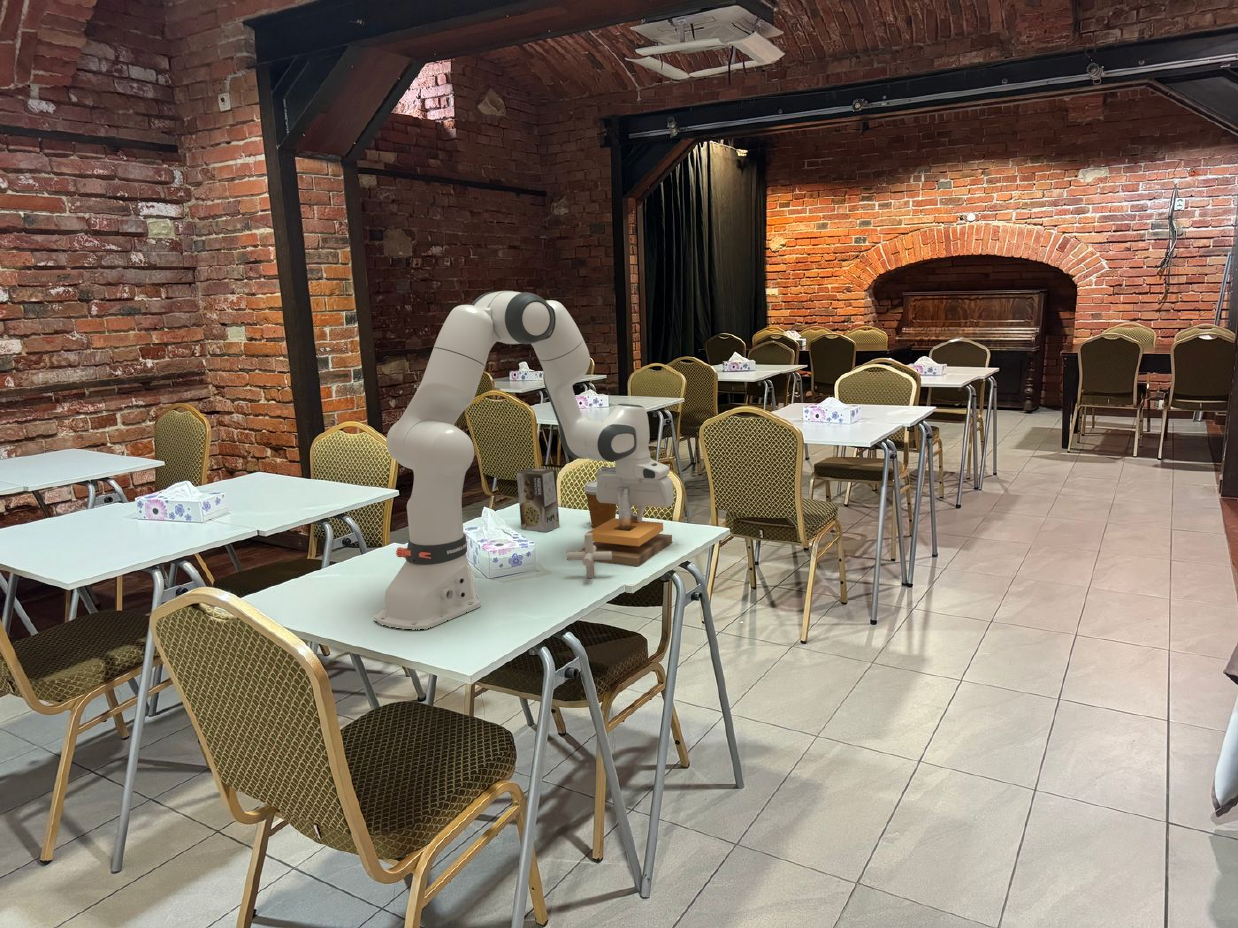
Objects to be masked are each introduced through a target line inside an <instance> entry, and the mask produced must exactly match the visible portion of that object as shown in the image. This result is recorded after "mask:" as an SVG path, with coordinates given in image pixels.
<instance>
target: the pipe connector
mask: <svg viewBox="0 0 1238 928" xmlns="http://www.w3.org/2000/svg"><path fill="white" fill-rule="evenodd" d="M583 537H584V548H585V552H578V551H568V552H566V560H567V561H582V565H584V566H585V569H586V578H587V579H593V578H595V577H596V576H595V561H594V560H607V559H612V551H609V552H596V549H597V548H596V546H595V545H593V535H592V533H587V532H585V533H584V536H583Z"/></svg>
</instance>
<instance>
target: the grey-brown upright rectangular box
mask: <svg viewBox="0 0 1238 928" xmlns="http://www.w3.org/2000/svg"><path fill="white" fill-rule="evenodd" d="M516 477H517V478H516V481H517V482H516V483H517V492H518V493H517V495H518V504H519V515H520V516H519V517H520V529H521V530H527V531H537V532H545V533H548V532H550V531H552V530H553V531H554V530H555V529H558V528H560V514H559V500H558V485H557V482H558V481H557V469H550V468H537V467H529V468H526V469H523V470H521V471H518V472H516Z"/></svg>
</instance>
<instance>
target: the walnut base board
mask: <svg viewBox="0 0 1238 928" xmlns="http://www.w3.org/2000/svg"><path fill="white" fill-rule="evenodd" d="M671 544H673V535H672V534H669V533H667V534H665V533H659V534H657V535H656V536H654V537H653V538H651V539H650V540H648V541H646V542H645V543H643V544H642V545H640V546H617V545H615V544H612V543H602V542H593V545H595V546H596V548H597V549H596V552H609V551H612V559H607V560H594V563H596V562H597V563H605V564H611V565H612V564H614V565H621V566H629V567H630V566H631V567H640V566H641V565H643V563H645V562H646V561H648V560H649V559H651V558H652V557H654V556H655V555H657V554H658V553H659V552H661V551H662V550H664V549H665V548H667V547H669V545H671ZM577 552H585V547H583V548H581V549H580V550H578V551H577Z"/></svg>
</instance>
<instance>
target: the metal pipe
mask: <svg viewBox="0 0 1238 928" xmlns="http://www.w3.org/2000/svg"><path fill="white" fill-rule="evenodd" d="M617 492H618V504H617V509H618V510H617V511H618V519H619V530H623V531H631V530H632V529H631V509H632V507H630V487H627V486H622V487H618V488H617ZM615 545H617V546H630V545H621V544H615Z"/></svg>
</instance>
